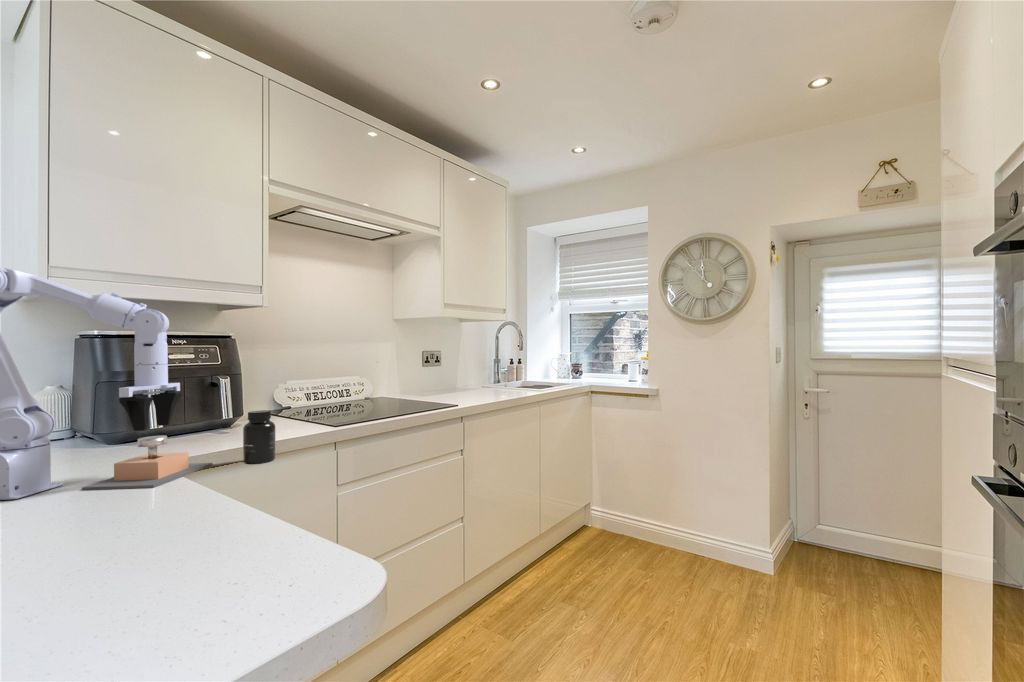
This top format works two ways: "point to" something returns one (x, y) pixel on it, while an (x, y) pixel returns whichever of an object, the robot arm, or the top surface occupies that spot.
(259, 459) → the supplement bottle
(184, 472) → the mat
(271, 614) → the top surface
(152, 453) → the plunger
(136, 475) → the tan rectangular brick
